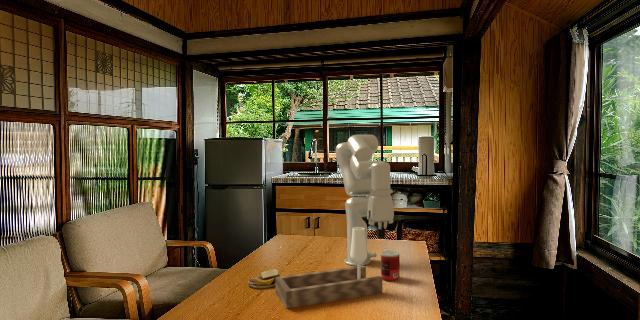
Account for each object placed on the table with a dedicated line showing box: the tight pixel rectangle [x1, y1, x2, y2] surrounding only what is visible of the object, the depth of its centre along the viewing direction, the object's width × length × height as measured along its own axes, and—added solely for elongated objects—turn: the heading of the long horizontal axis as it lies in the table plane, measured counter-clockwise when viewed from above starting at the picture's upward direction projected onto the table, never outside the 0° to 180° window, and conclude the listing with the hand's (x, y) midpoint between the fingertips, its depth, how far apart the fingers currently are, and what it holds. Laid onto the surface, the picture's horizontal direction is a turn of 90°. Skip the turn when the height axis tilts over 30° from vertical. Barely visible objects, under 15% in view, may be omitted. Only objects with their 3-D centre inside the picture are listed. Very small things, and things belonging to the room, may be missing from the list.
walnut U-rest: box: [275, 265, 383, 310], centre depth 152 cm, size 38×16×6 cm, turn 110°
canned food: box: [380, 250, 401, 283], centre depth 166 cm, size 8×8×11 cm
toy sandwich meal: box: [247, 268, 281, 290], centre depth 163 cm, size 12×14×5 cm
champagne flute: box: [350, 227, 368, 279], centre depth 156 cm, size 7×7×24 cm
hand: (381, 238), depth 159 cm, fingers closed
